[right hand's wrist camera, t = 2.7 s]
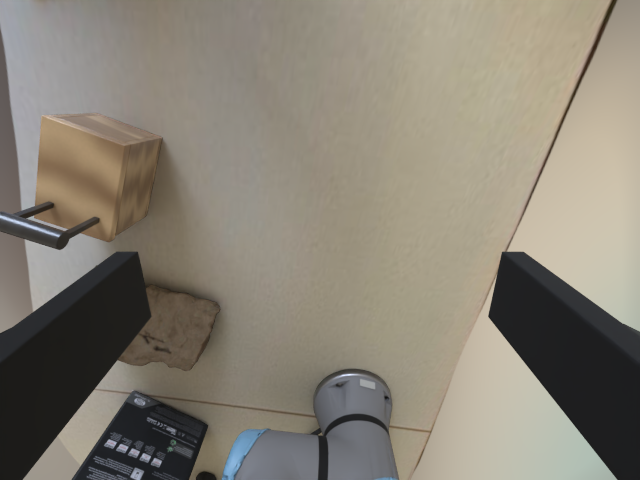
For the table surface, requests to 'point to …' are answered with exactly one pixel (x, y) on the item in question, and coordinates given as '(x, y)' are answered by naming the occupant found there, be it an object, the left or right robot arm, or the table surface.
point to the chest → (138, 164)
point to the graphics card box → (145, 444)
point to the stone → (172, 330)
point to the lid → (73, 186)
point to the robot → (205, 476)
